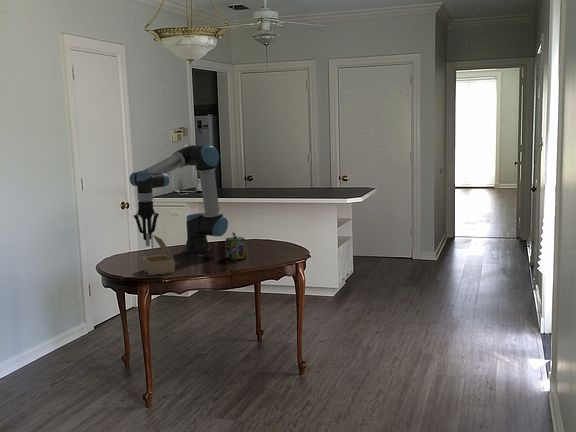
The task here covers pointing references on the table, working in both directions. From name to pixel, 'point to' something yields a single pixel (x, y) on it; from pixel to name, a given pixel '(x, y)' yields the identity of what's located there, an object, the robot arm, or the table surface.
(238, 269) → the table surface
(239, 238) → the colorful juice box
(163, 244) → the lid
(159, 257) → the box
